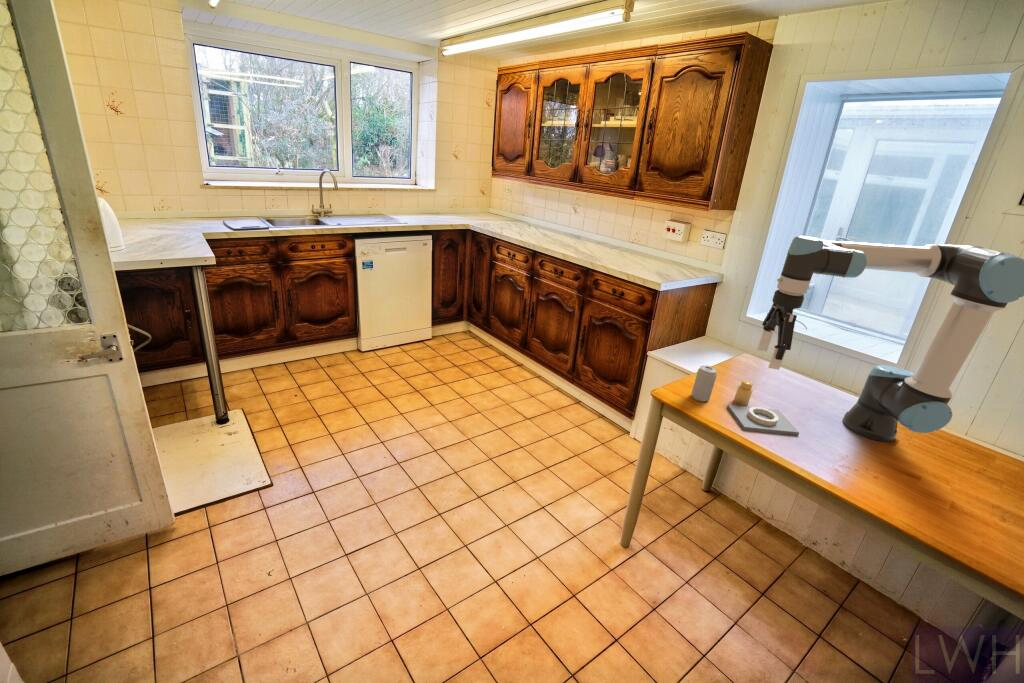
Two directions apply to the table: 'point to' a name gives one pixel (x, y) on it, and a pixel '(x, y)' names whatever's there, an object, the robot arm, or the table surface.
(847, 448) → the table surface
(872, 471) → the table surface
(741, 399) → the nesting doll
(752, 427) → the collar board
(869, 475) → the table surface
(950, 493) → the table surface
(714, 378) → the beverage can
